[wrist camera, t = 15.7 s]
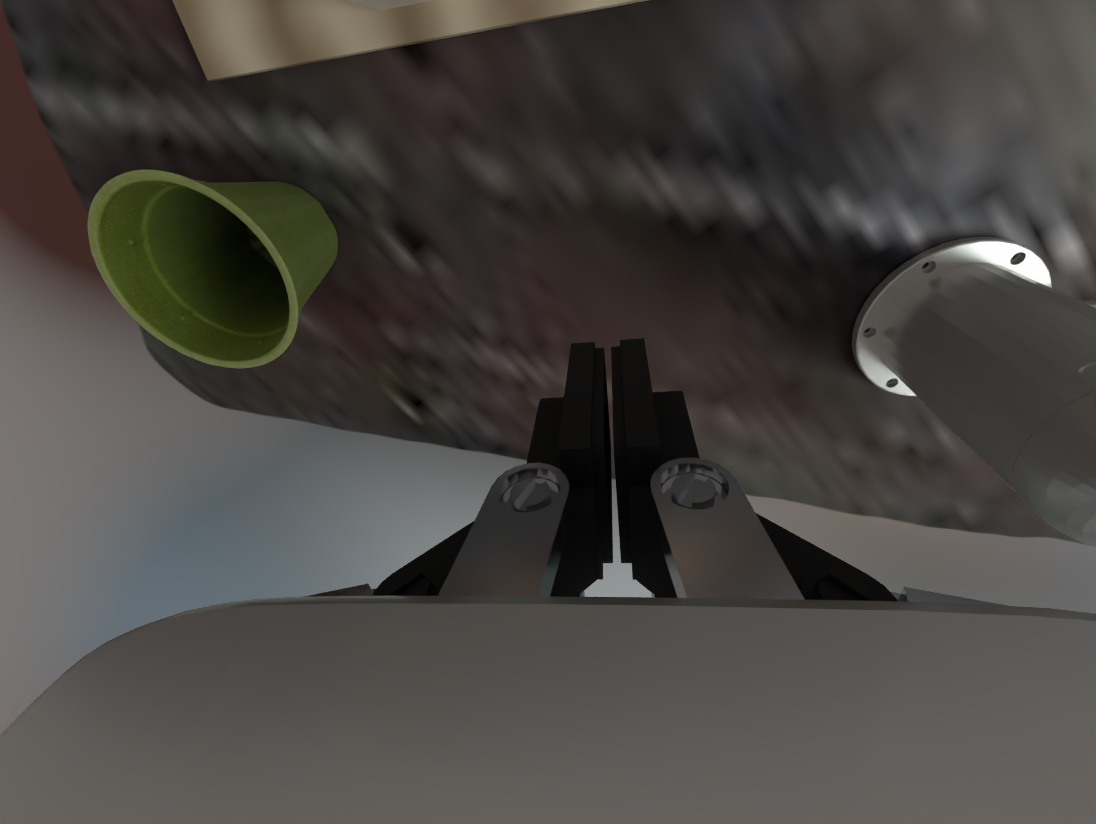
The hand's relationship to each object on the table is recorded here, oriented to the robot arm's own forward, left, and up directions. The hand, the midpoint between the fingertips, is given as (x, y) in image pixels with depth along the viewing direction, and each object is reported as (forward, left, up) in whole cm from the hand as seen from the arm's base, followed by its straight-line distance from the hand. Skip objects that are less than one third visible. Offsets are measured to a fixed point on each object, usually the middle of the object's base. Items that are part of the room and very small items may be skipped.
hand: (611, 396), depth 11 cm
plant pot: (+24, 0, -27) cm, 36 cm away
